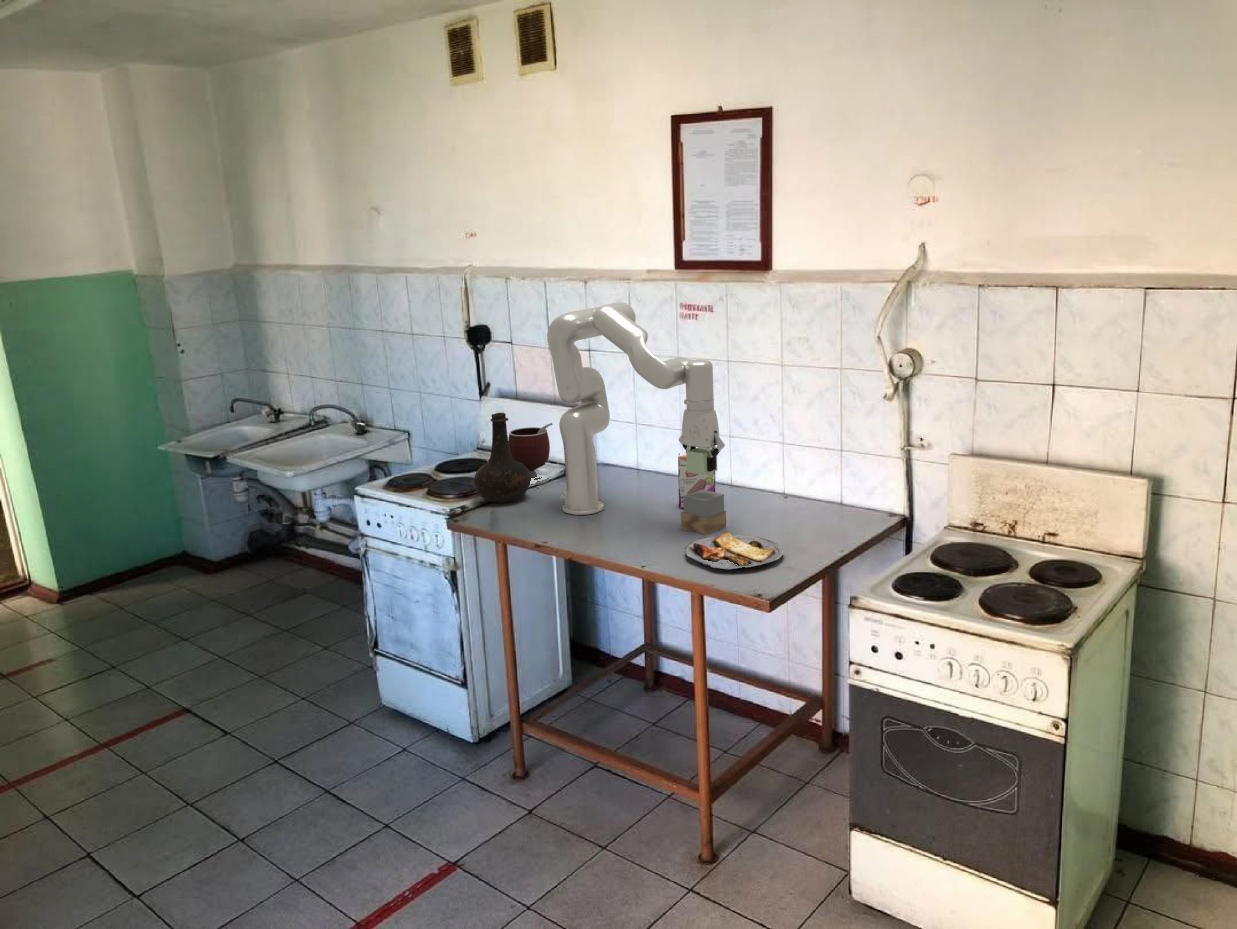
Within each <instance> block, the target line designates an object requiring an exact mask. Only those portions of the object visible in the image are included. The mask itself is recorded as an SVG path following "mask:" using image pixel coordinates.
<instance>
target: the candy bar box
mask: <svg viewBox="0 0 1237 929" xmlns="http://www.w3.org/2000/svg"><path fill="white" fill-rule="evenodd" d="M677 465H678V466H677V470H678V473H677V474H678V477H677V478H678V508H679V509H684V496H685V495H688V494H691V493H693V492H696V491H699V490H707V491H711V492H716V490H717V488H716V486H717V485H716V483H717V482H716V471H714V472H712V473H709V474H706V475H700V474H694V473H689V472H687V457H686V452H679V453H678V457H677ZM716 493H717V492H716Z"/></svg>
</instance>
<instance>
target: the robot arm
mask: <svg viewBox="0 0 1237 929" xmlns="http://www.w3.org/2000/svg"><path fill="white" fill-rule="evenodd" d="M636 317H637V316H636V313H635V311H634V309H633V307H631V306H630V305H629V304H628V303H625V302H620V301H619V302H613V303H608V304H603V305H601V306H598V307H596V306H595V307H591V308H586V309H585V308H584V309H579V310H573V311H568V312H565V313H562V314H560V315H558V316H556V317H555V318H554V319H553V320H552V321H551V322H550V324H549V326H548V329H547V333H546V337H547V345H548V349H549V352H550V355H551V358H552V364H553V365H552V366H553V371H554V372H553V373H554V378H555V382H556V387H557V393H558V397H559V398H560V400H561V401H562V402H563V403H565V404H576V403H580V405H578V406H575V407H572V408H570V409H567V410H566V411H565V412H563V414H562V415H561V417H560V418H559V423H558V425H559V431H560V435H561V439H562V444H563V452H564V454H563V455H564V466H565V467H564V469H565V483H566V486H565V487H566V490H564V491H563V492H562V494H561V495H560V496H559V498H560V500H564V502H565V503H564V504H562V511H563V512H564V513H565V514H568V515H577V516H579V515H580V516H583V515H586V516H587V515H591V514H596V513H599V512H601V511H603V510H604V509H605V504H604V502H602V501H600V500H599V487H598V468H597V452H596V447H595V444H594V443H593V440H592V437H591V436H594V435H596V434H599V433H601V432H603V431H605V430H606V429H607V428H608V426H609V423H610V419H611V418H610V408H609V402H608V397H607V396H608V395H607V390H606V385H605V380H604V379H603V376H602V374H601V373H600V372H599V371H598V370H597V369H595V368H593V367H590V366H585V367H584V366H583V360H582V357H581V356H582V355H581V353H580V351H579V348H578V347H577V346H576V344H575V342H578V341H582V340H586V339H590V338H596V337H600V336H603V337H604V338H605V339H606V340H608V341H609V342H610V343H612V344H613V345H615V346H616V347H617V348H618V349H619V350H621V351H622V352H624V354H626V355H627V357H628V360H629V362H630V365H631V366H632V368H633V369H634V371H635V372H636V373H637V374H638V375H639V376H640V377H641V378H643V379H644V380H645V381H646V382H647V383H649V384H650V385H651V386H653V387H655V388H657V389H659V390H669V389H672V388H675V387H678V386H683V385H685V399H684V401H683V403H684V405H686V406H685V407H686V408H685V409H684V410H683V416H682V424H681V425H682V426H681V435H680V437H679V438H678V442H679V443H680V445H682V448H683V449H684V451H685V452H686V451H689V450H692V449H695V448H698V447H700V448H706V450H707V453H708V456H709V457H708V458H707V470H708V472H710V471H713V470H716V456H717V457H718V455H719V454H720V452H722V450H723V449H724V448H725V447H726V444H725V443H724V441H723V440H722V438H721V437H720V429H719V428H720V427H719V421H718V416H717V412H716V410H715V401H714V400H715V399H714V396H715V395H714V370H713V369H714V367H713V366H714V365H713V363H712V362H711V360H708V359H691V358H687V357H674V358H670V359H667V360H664V361H663V360H661V359H660V358H659V357H657V356H656V355H655V354H653V353H652V352H651V351H650V349H648V346H647V343H648V338H649V334H648V332H647V330H646V329H644V328H643V327H642V326H641V325H639V324H637V323H636V319H637V318H636ZM711 449H712V451H711Z"/></svg>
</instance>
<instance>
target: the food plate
mask: <svg viewBox="0 0 1237 929" xmlns="http://www.w3.org/2000/svg"><path fill="white" fill-rule="evenodd" d="M684 553H685V557H689V558H690V559H693V560H695V561H696V562H698V563H701V564H703V565H702V566H708V567H710V568H714V569H723V570H736V569H742V567H745V568H751V567H756V566H761V565H765V564H769V563H771V562H774V561H778V560H779V559H780V558H781V557H782V555H783V554H784V549H783V547H781V545H779V544H778V543H777V542H775V541H772V540H769V539H766V538H762V537H758V536H754V535H745V534H733V533H732V534H731V533H730V531H724V532H723V533H721V534H718V535H711V536H708V537H702V538H698V539H696V540H692V542H690V543H688V545H686V546H685V547H684ZM703 560H708V561H712V562H718V561H720V560H729V561H730V562H733V563H734V564H737V565H738V566H737V565H734V564H733V565H731V566H727V565H726V566H724V565H720V566H717V565H714V564H713V563H712V564H709V563H707V562H705V561H703ZM727 562H728V561H727ZM753 562H754V563H753ZM759 562H760V563H759ZM749 564H751V565H749Z"/></svg>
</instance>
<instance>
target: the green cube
mask: <svg viewBox="0 0 1237 929" xmlns="http://www.w3.org/2000/svg"><path fill="white" fill-rule="evenodd" d="M711 451H712V448H711ZM685 453H686V457H687V472H689V473H694V474H700V475H706V474H709V473H712V472H714V471H715V472H717V471H718V455H717V456H716V470H713V471H710V472H708V470H707V458H708V457H709V456H708V453H707V450H706V448H700V447H696V448H695V449H692V450H689V451H686V450H685Z"/></svg>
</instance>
